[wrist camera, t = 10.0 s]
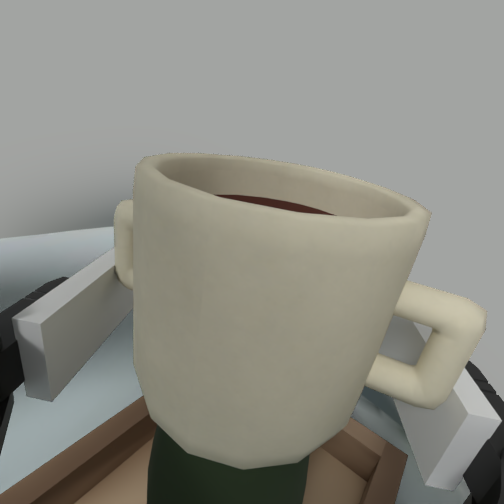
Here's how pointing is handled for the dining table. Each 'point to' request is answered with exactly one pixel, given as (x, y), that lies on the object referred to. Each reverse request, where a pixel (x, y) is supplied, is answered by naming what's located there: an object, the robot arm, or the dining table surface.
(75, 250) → the dining table surface
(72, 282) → the robot arm
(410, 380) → the character mug
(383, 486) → the wooden tray
